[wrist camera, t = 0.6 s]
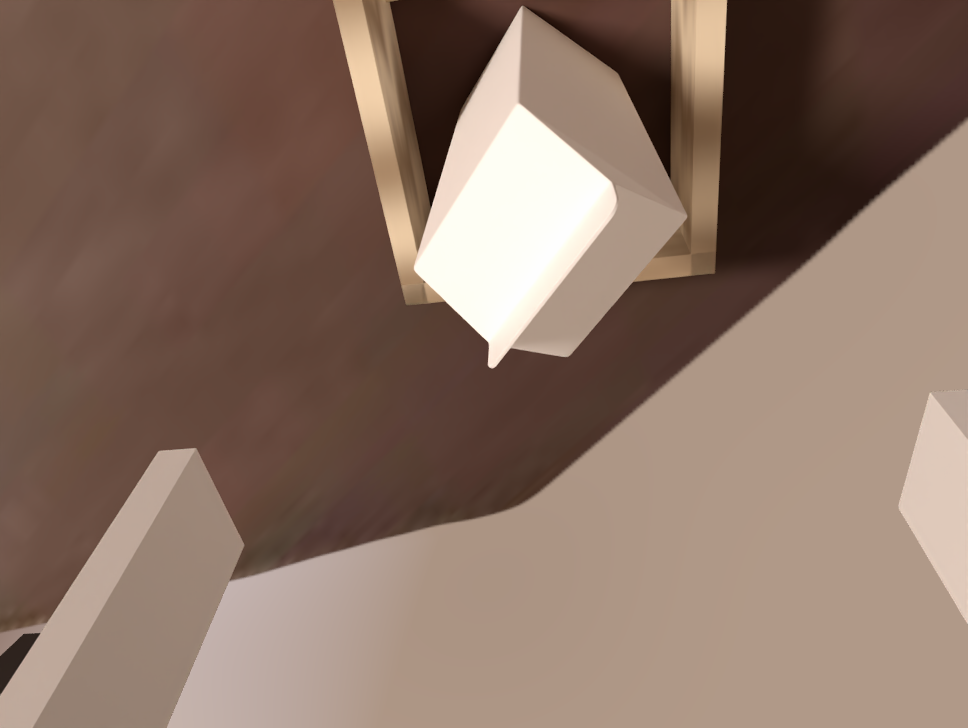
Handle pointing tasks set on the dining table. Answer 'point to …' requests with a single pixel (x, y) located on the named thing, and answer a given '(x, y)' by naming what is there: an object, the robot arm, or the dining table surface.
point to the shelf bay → (401, 167)
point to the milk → (545, 196)
